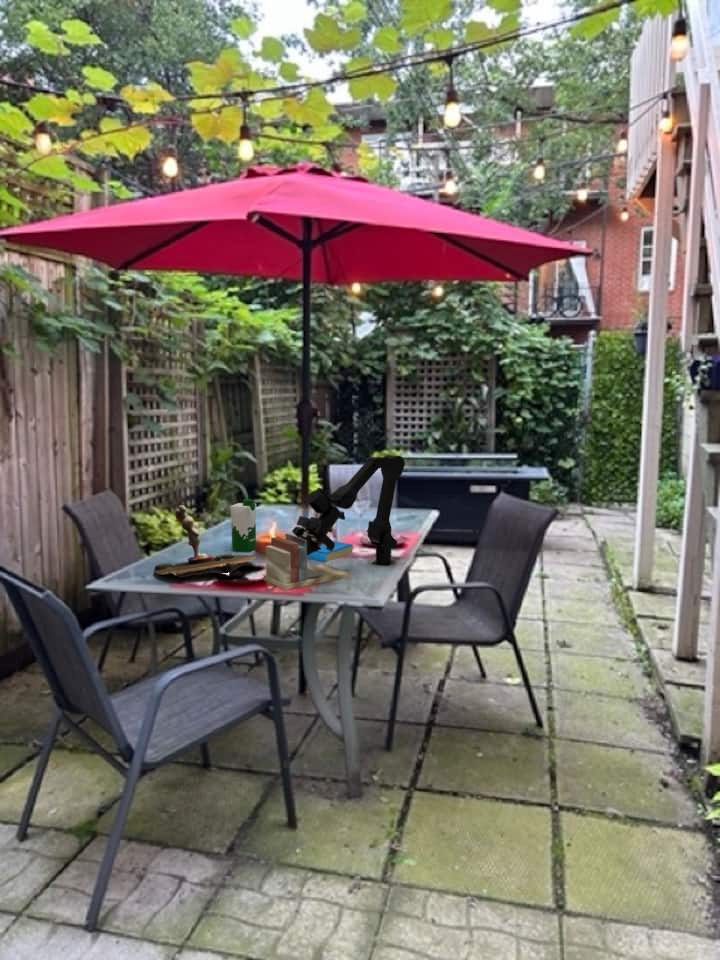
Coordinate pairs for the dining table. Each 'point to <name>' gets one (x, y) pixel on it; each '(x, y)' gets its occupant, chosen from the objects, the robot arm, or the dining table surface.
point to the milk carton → (243, 526)
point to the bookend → (303, 543)
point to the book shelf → (318, 568)
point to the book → (331, 552)
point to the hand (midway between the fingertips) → (298, 558)
